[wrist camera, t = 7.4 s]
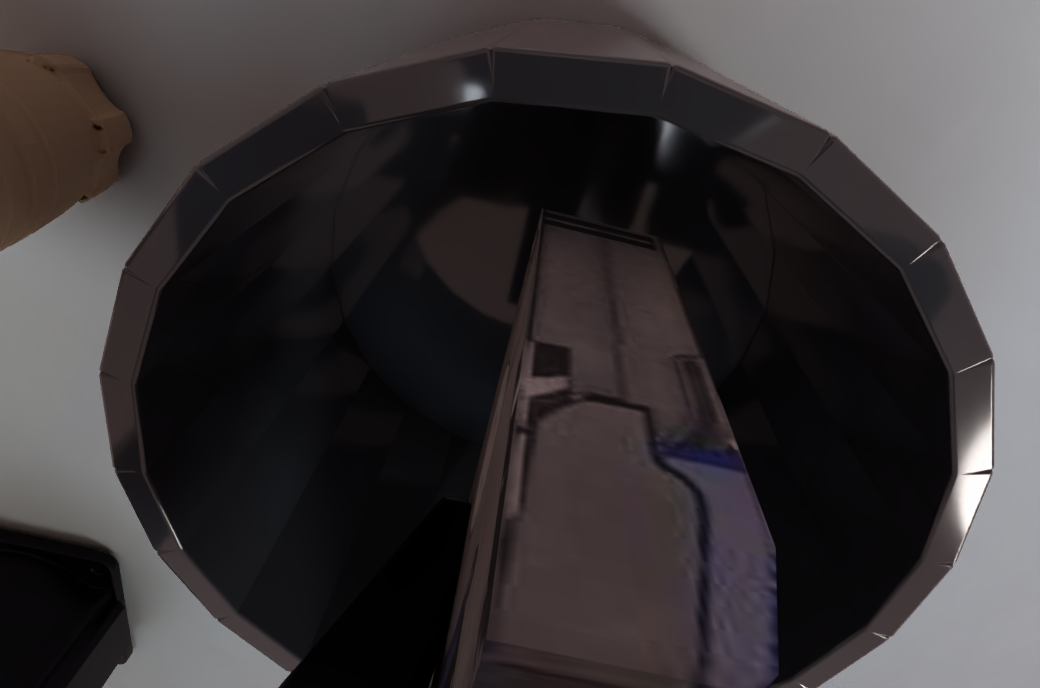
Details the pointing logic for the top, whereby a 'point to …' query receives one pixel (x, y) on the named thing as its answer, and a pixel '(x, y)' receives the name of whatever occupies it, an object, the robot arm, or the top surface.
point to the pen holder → (489, 318)
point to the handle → (53, 140)
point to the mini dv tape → (609, 492)
